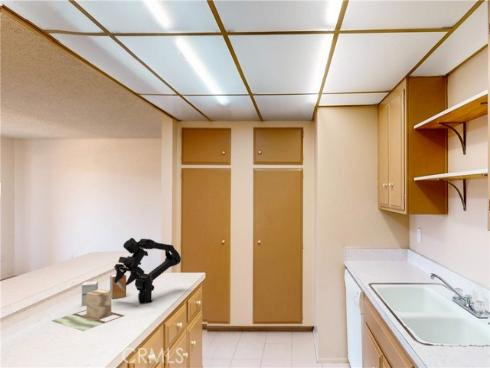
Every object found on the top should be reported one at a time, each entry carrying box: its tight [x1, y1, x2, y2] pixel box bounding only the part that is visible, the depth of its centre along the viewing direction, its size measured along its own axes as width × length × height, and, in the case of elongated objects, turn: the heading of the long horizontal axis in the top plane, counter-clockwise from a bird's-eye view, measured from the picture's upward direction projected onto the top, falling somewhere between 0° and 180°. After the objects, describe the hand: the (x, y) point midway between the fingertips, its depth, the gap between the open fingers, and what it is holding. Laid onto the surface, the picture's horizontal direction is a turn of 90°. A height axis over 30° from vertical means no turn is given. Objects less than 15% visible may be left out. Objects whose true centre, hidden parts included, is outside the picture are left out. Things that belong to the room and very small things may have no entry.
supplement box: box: [81, 280, 99, 307], centre depth 187 cm, size 7×7×13 cm
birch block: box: [86, 288, 112, 319], centre depth 169 cm, size 8×8×11 cm
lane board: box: [51, 309, 126, 332], centre depth 164 cm, size 22×25×2 cm
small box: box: [109, 274, 127, 300], centre depth 204 cm, size 8×6×13 cm
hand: (120, 284), depth 180 cm, fingers open, 9 cm apart
